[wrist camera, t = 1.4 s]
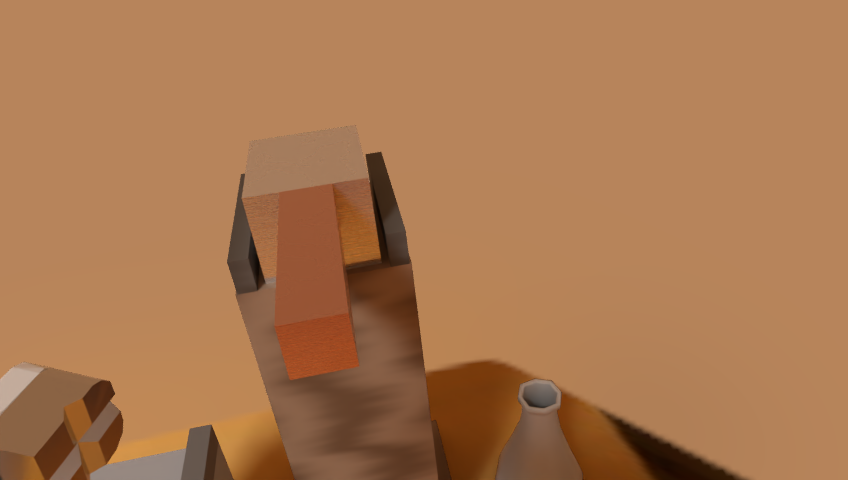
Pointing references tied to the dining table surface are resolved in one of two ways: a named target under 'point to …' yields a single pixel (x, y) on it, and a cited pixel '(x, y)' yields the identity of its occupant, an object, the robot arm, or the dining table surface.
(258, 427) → the dining table surface
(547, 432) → the flask
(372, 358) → the tall post
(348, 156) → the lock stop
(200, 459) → the grey post
